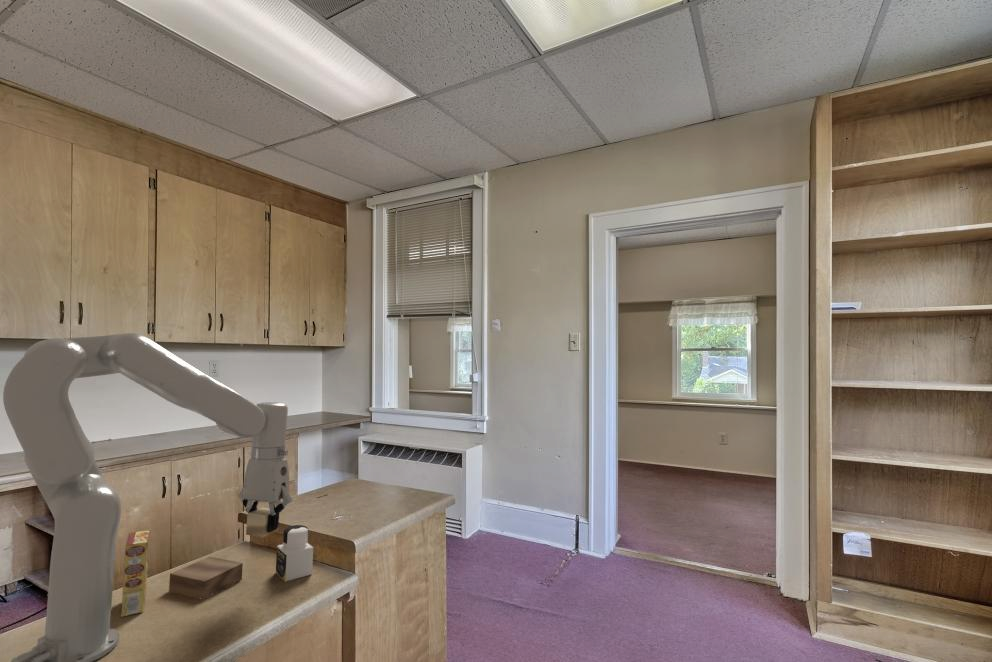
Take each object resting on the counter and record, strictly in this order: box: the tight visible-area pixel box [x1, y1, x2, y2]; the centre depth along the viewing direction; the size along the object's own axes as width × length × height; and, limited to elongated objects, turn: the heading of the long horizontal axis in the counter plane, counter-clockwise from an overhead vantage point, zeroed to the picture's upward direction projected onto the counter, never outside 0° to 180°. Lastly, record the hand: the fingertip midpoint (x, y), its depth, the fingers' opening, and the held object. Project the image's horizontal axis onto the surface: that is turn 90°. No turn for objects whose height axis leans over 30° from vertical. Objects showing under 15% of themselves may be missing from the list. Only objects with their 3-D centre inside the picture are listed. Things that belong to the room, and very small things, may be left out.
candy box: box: [120, 530, 150, 617], centre depth 109 cm, size 9×4×15 cm, turn 33°
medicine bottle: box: [275, 524, 314, 582], centre depth 128 cm, size 7×7×12 cm
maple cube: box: [245, 507, 279, 538], centre depth 118 cm, size 5×5×5 cm
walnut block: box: [168, 556, 244, 600], centre depth 120 cm, size 11×11×4 cm
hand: (262, 528), depth 118 cm, fingers closed on maple cube, 5 cm apart
